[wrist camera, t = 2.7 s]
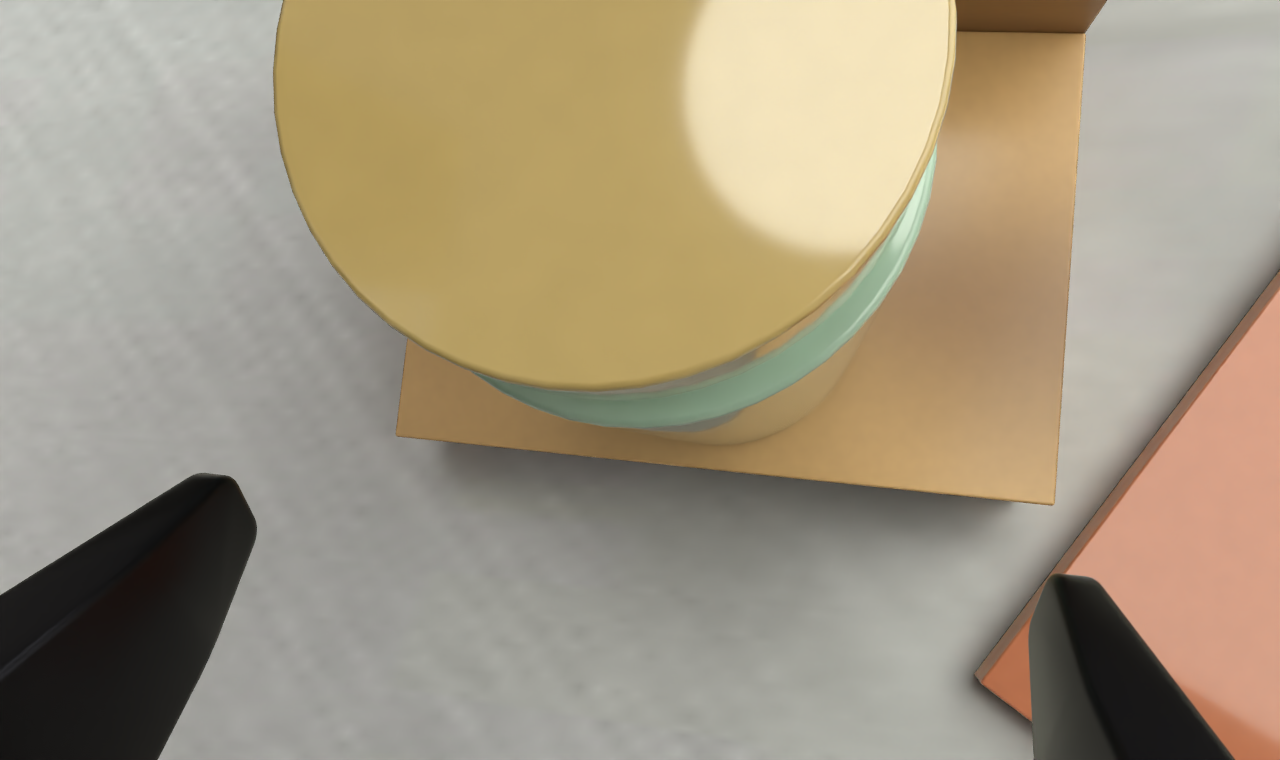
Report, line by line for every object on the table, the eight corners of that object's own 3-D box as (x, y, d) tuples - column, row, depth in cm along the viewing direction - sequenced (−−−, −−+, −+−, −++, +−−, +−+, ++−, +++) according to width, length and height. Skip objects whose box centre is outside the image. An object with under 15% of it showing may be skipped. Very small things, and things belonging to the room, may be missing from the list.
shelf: (1017, 499, 20) (1187, 528, 12) (445, 439, 23) (228, 425, 14) (1048, 59, 21) (1229, -227, 12) (491, 47, 24) (313, -199, 15)
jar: (645, 490, 19) (391, 539, 7) (541, 240, 20) (159, -95, 8) (911, 376, 18) (1133, 212, 6) (790, 122, 19) (785, -443, 7)
